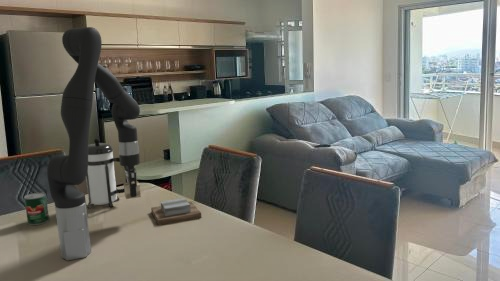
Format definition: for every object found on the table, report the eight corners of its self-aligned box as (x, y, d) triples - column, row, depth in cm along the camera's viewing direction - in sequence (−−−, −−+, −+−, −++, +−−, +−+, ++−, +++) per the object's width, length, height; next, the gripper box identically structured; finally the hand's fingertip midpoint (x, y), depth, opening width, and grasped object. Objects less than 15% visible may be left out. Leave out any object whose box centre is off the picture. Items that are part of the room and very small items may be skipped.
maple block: (140, 197, 168) (139, 182, 167) (126, 199, 166) (125, 184, 165) (138, 193, 173) (137, 179, 172) (124, 195, 171) (123, 181, 170)
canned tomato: (47, 216, 179) (43, 191, 177) (51, 221, 173) (47, 195, 171) (26, 221, 175) (22, 195, 173) (29, 226, 169) (25, 200, 167)
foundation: (201, 217, 171) (200, 205, 170) (158, 225, 165) (157, 212, 164) (191, 205, 186) (190, 194, 185) (151, 212, 180) (150, 200, 179)
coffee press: (95, 213, 181) (87, 143, 176) (80, 204, 193) (73, 139, 188) (132, 202, 193) (126, 137, 187) (116, 195, 205) (110, 133, 199)
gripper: (141, 154, 161) (145, 198, 164) (136, 148, 175) (139, 188, 177) (120, 157, 159) (124, 201, 161) (117, 150, 172) (120, 191, 175)
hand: (132, 194), depth 169 cm, fingers closed on maple block, 5 cm apart
